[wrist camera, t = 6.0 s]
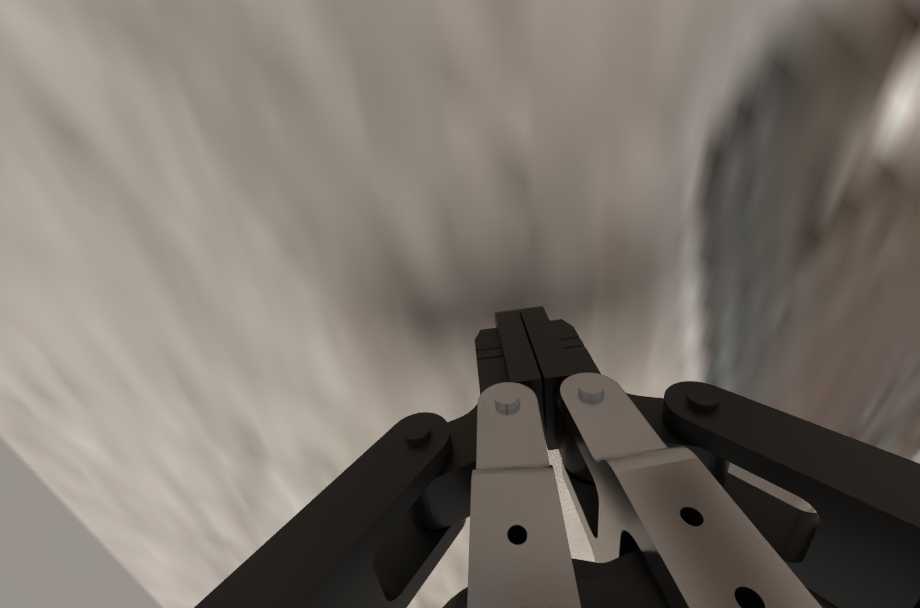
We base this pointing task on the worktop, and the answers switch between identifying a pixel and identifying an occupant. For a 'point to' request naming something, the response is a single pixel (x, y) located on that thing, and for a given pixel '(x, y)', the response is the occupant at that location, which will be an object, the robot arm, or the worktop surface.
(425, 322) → the worktop surface
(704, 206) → the worktop surface
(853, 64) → the worktop surface
